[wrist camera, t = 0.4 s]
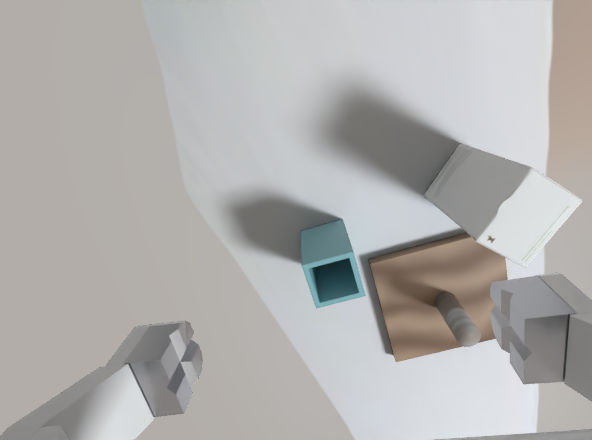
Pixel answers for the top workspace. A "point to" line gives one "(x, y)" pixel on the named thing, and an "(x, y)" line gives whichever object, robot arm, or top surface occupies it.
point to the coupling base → (437, 295)
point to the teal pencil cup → (330, 264)
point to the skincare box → (501, 202)
